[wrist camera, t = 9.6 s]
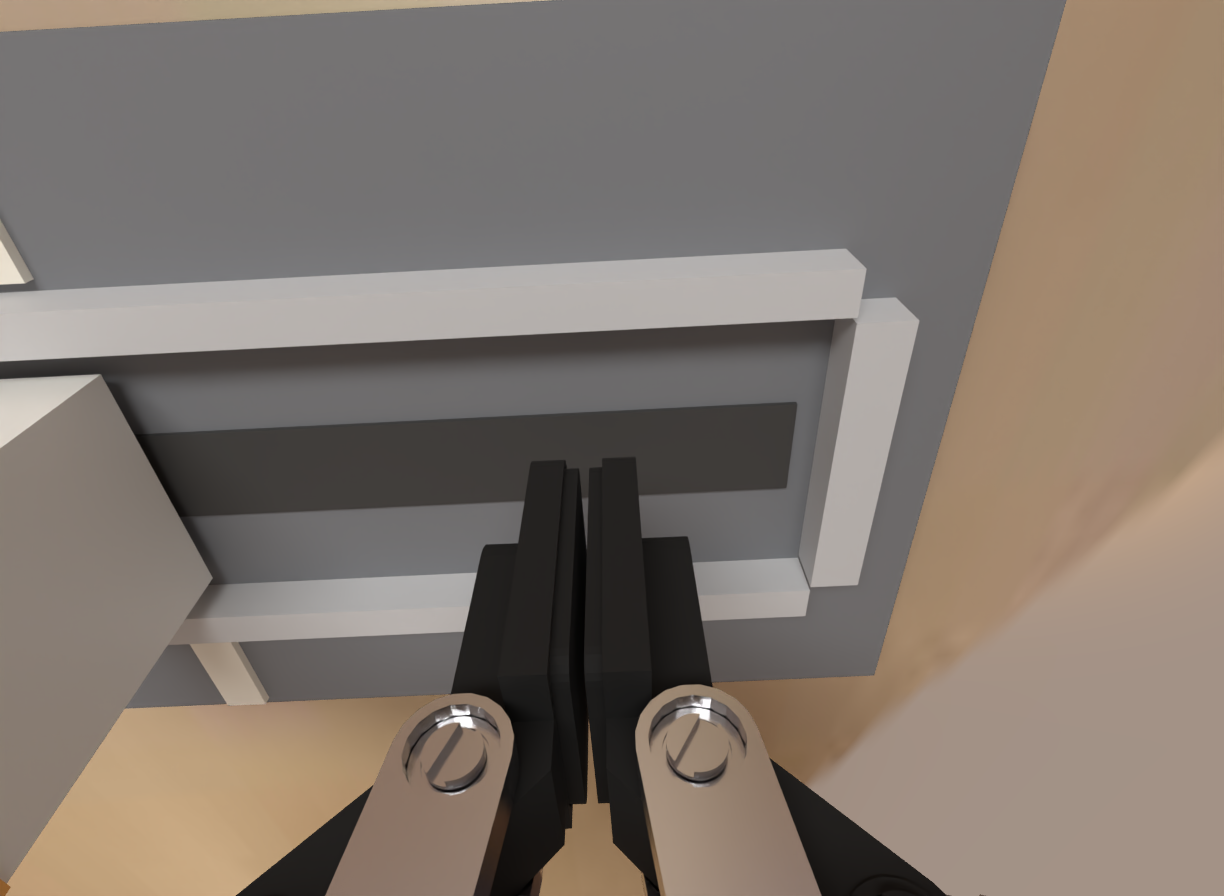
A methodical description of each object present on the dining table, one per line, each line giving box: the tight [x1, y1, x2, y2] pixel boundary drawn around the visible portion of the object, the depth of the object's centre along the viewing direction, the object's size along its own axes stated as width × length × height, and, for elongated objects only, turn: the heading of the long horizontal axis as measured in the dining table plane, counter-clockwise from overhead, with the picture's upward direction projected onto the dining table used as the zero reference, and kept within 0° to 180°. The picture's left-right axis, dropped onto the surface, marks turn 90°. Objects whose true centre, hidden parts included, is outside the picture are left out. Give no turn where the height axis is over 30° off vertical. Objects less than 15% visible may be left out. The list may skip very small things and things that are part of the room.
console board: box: [0, 0, 1066, 708], centre depth 13 cm, size 25×15×3 cm, turn 93°
